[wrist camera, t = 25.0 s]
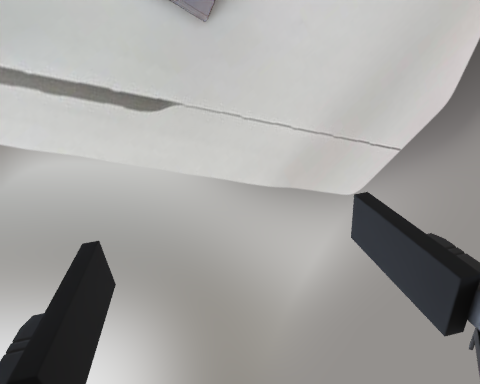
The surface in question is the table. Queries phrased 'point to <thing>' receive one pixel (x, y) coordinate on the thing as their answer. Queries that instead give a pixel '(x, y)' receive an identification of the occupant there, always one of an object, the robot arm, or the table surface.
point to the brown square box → (196, 7)
